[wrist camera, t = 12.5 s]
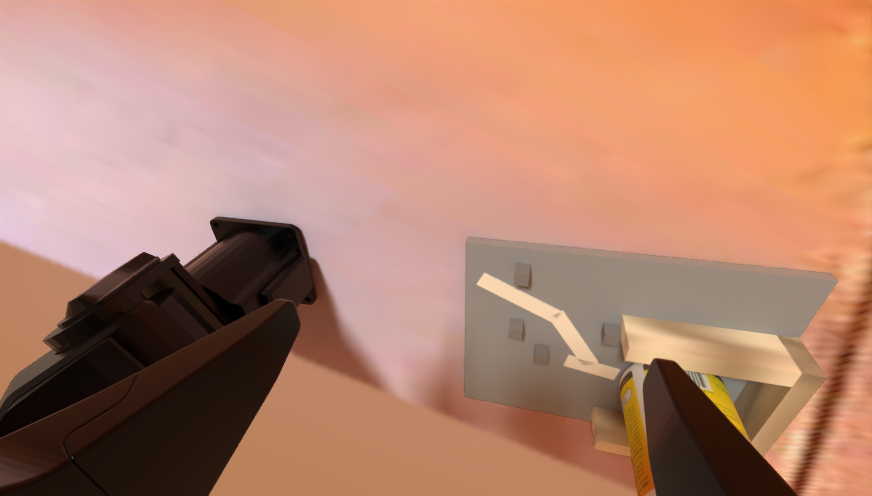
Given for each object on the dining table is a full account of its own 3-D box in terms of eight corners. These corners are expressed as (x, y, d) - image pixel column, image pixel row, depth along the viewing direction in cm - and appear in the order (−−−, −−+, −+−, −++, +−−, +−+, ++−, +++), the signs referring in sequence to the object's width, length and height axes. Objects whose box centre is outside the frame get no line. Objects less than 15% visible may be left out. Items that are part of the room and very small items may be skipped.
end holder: (590, 414, 27) (594, 449, 25) (622, 314, 22) (629, 347, 20) (728, 441, 25) (744, 480, 23) (799, 338, 20) (827, 377, 18)
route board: (465, 390, 30) (461, 408, 29) (467, 236, 22) (462, 252, 21) (721, 439, 26) (730, 462, 25) (831, 273, 18) (851, 294, 17)
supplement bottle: (653, 419, 26) (702, 622, 17) (598, 371, 25) (622, 564, 16) (742, 390, 23) (852, 620, 14) (684, 334, 21) (767, 548, 13)
